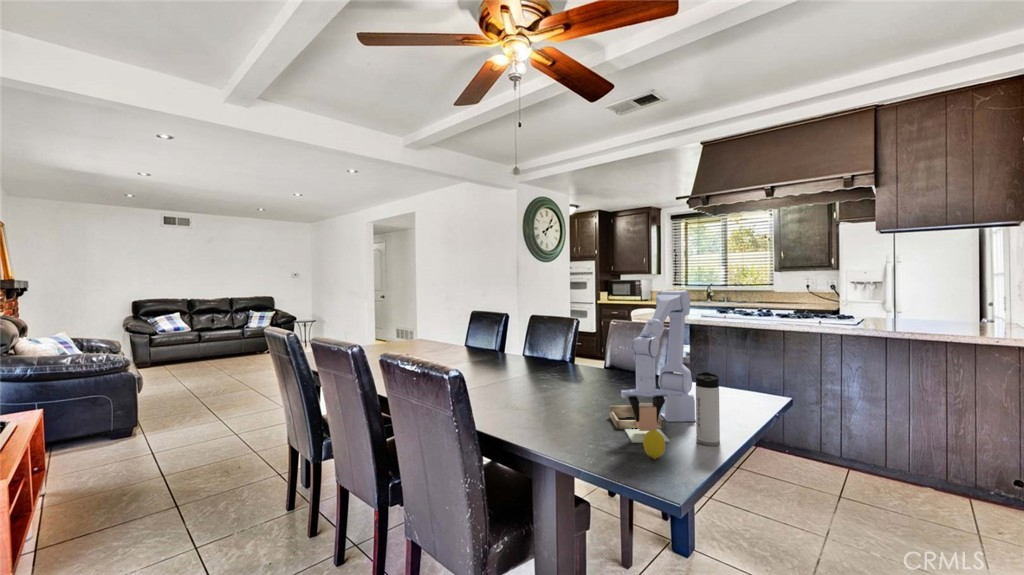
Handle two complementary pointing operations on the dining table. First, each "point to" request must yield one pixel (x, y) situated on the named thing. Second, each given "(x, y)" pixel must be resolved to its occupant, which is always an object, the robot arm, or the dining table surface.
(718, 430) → the travel mug
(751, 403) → the dining table surface
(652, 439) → the lemon
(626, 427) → the frame
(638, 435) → the mat
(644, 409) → the tan upright block
